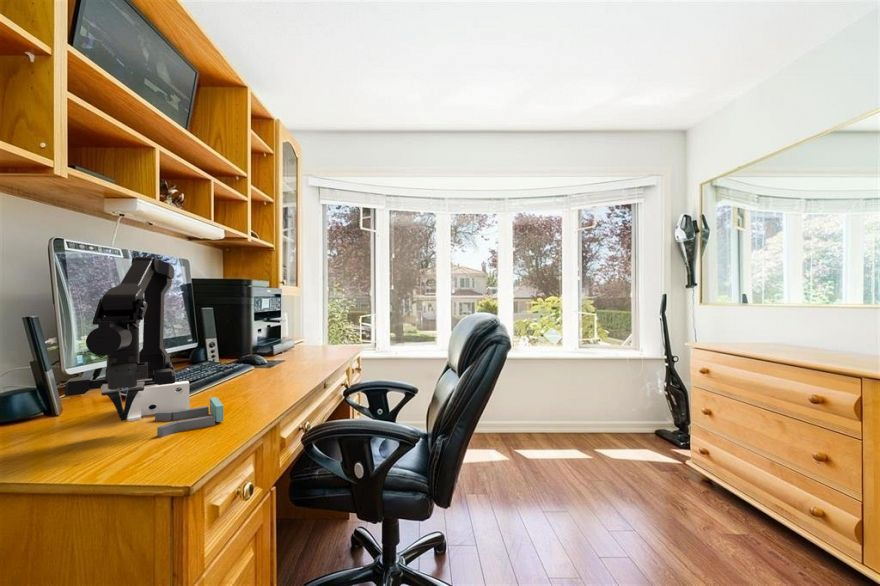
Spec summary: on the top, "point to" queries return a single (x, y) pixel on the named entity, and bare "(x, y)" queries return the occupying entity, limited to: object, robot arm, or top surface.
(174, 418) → the guide dock
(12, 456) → the top surface
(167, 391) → the bracket
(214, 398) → the end stop
